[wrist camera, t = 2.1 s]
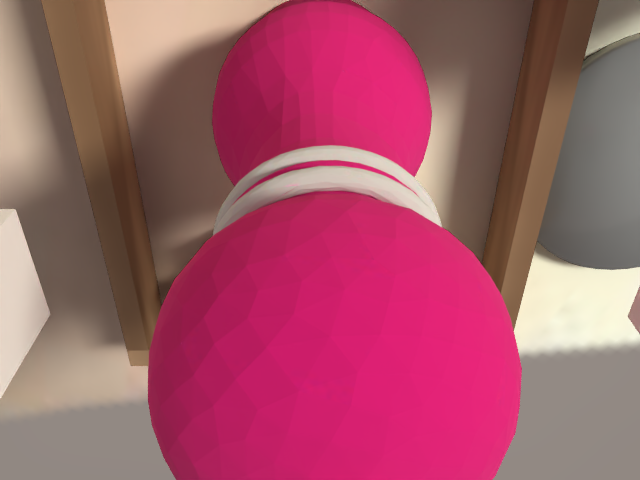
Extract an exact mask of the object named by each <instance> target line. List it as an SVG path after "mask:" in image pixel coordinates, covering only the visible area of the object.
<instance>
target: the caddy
mask: <svg viewBox="0 0 640 480" xmlns="http://www.w3.org/2000/svg"><path fill="white" fill-rule="evenodd" d="M41 2H42V6H43V10H44V14H45V18H46V22H47V26H48V30H49V35H50V39H51V43H52V47H53V51H54V55H55V59H56V63H57V67H58V71H59V75H60V79H61V83H62V87H63V92H64V96H65V100H66V104H67V108H68V112H69V116H70V120H71V124H72V128H73V132H74V136H75V140H76V145H77V149H78V153H79V157H80V161H81V165H82V169H83V173H84V177H85V181H86V185H87V189H88V193H89V198H90V202H91V206H92V210H93V214H94V218H95V222H96V226H97V230H98V234H99V238H100V242H101V246H102V251H103V255H104V259H105V263H106V267H107V271H108V275H109V279H110V283H111V287H112V291H113V295H114V299H115V304H116V308H117V312H118V316H119V320H120V324H121V328H122V332H123V336H124V340H125V344H126V348H127V352H128V356H129V361H130V365H131V366H149V350H150V346H151V342H152V338H153V334H154V330H155V326H156V323H157V319H158V316H159V313H160V309H161V306H162V304H161V299H160V294H159V289H158V283H157V278H156V273H155V267H154V262H153V257H152V251H151V246H150V241H149V235H148V230H147V225H146V220H145V214H144V209H143V204H142V198H141V193H140V188H139V182H138V177H137V172H136V166H135V161H134V156H133V151H132V145H131V140H130V135H129V129H128V124H127V119H126V113H125V108H124V103H123V97H122V92H121V87H120V82H119V76H118V71H117V66H116V60H115V55H114V50H113V44H112V39H111V34H110V28H109V23H108V18H107V13H106V7H105V2H104V0H41ZM598 2H599V0H534V5H533V10H532V15H531V20H530V25H529V30H528V35H527V40H526V45H525V50H524V55H523V60H522V65H521V70H520V75H519V80H518V85H517V90H516V95H515V100H514V105H513V110H512V115H511V120H510V125H509V130H508V135H507V140H506V145H505V150H504V155H503V160H502V165H501V170H500V175H499V180H498V185H497V190H496V195H495V200H494V205H493V210H492V215H491V220H490V225H489V230H488V235H487V240H486V245H485V250H484V255H483V260H482V266H483V267H484V268H485V270H486V271H487V272H488V274H489V275H490V276H491V278H492V280H493V282H494V283H495V285H496V287H497V289H498V290H499V292H500V294H501V295H502V298H503V300H504V303H505V305H506V308H507V310H508V313H509V315H510V318H511V322H512V327H513V331H514V328H515V324H516V320H517V316H518V312H519V308H520V304H521V301H522V297H523V293H524V289H525V285H526V281H527V277H528V273H529V269H530V266H531V262H532V258H533V254H534V250H535V246H536V242H537V238H538V235H539V231H540V227H541V223H542V219H543V215H544V211H545V207H546V204H547V200H548V196H549V192H550V188H551V184H552V180H553V176H554V173H555V169H556V165H557V161H558V157H559V153H560V149H561V145H562V142H563V138H564V134H565V130H566V126H567V122H568V118H569V114H570V111H571V107H572V103H573V99H574V95H575V91H576V87H577V83H578V80H579V76H580V72H581V68H582V64H583V60H584V56H585V52H586V48H587V45H588V41H589V37H590V33H591V29H592V25H593V21H594V17H595V14H596V10H597V6H598Z"/></svg>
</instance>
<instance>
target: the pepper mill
mask: <svg viewBox="0 0 640 480" xmlns="http://www.w3.org/2000/svg"><path fill="white" fill-rule="evenodd" d="M431 117H432V110H431V104H430V97H429V91H428V86H427V83H426V79H425V76H424V73H423V70H422V68H421V65H420V63H419V61H418V58H417V56H416V55H415V53H414V52H413V50H412V49H411V47H410V46H409V44H408V43H407V41H406V40H405V39H404V38H403V37H402V36H401V35H400V34H399V33H398V32H397V31H396V30H395V29H394V28H393V27H392V26H390V25H389V24H388V23H386V22H385V21H384V20H382V19H381V18H379V17H377V16H376V15H374V14H372V13H370V12H369V11H368V10H366V9H365V8H364V7H362V6H360V5H359V4H357V3H355V2H353V1H351V0H290V1H287V2H284V3H283V4H281V5H280V6H278V7H276V8H275V9H273V10H272V11H271V12H270V13H269V14H267V15H266V16H265V17H264V18H262V19H261V20H260V21H258V22H257V23H256V24H254V25H253V26H252V27H251V28H250V29H249V30H248V31H247V32H246V33H245V34H244V35H243V36H242V37H241V38H239V40H238V41H237V42H236V44H235V45H234V47H233V48H232V49H231V51H230V52H229V53H228V56H227V58H226V60H225V62H224V64H223V66H222V68H221V70H220V73H219V76H218V81H217V86H216V90H215V95H214V101H213V114H212V125H213V133H214V139H215V143H216V146H217V149H218V153H219V156H220V160H221V162H222V165H223V167H224V170H225V172H226V174H227V175H228V177H229V178H230V180H231V182H232V183H233V185H234V186H235V187H234V188H233V189H232V191H231V192H230V193H229V195H228V196H227V198H226V199H225V201H224V202H223V204H222V206H221V208H220V210H219V213H218V215H217V218H216V222H215V226H214V230H213V236H212V237H211V238H210V239H209V240H207V241H206V242H205V243H204V245H203V246H202V247H201V248H200V249H199V251H198V252H197V253H196V254H195V255H194V257H193V258H192V259H191V260H190V261H189V263H188V264H187V265H186V266H185V267H184V269H183V270H182V271H181V272H180V273H179V274H178V276H177V277H176V278H175V279H174V281H173V283H172V286H171V288H170V290H169V292H168V294H167V296H166V298H165V300H164V302H163V304H162V306H161V309H160V313H159V316H158V319H157V323H156V326H155V330H154V334H153V338H152V342H151V346H150V350H149V366H148V403H149V409H150V416H151V422H152V426H153V429H154V432H155V435H156V438H157V440H158V443H159V446H160V449H161V451H162V454H163V457H164V459H165V461H166V462H167V464H168V466H169V468H170V470H171V471H172V473H173V475H174V477H175V478H176V480H492V479H493V478H494V477H495V476H496V473H497V471H498V469H499V467H500V465H501V463H502V460H503V458H504V456H505V454H506V452H507V450H508V447H509V445H510V443H511V441H512V439H513V437H514V435H515V432H516V425H517V420H518V413H519V407H520V391H521V372H522V368H521V363H520V358H519V353H518V349H517V344H516V340H515V335H514V331H513V327H512V322H511V318H510V315H509V313H508V310H507V308H506V305H505V303H504V300H503V298H502V295H501V294H500V292H499V290H498V289H497V287H496V285H495V283H494V282H493V280H492V278H491V276H490V275H489V274H488V272H487V271H486V270H485V268H484V267H483V266H482V264H481V263H480V261H479V260H478V259H477V257H476V256H475V255H474V253H473V252H472V251H471V250H469V249H468V248H467V247H466V246H465V245H464V244H463V243H461V242H460V241H459V240H458V239H457V238H456V237H455V236H453V235H452V234H451V233H450V232H449V231H447V230H445V229H444V228H442V225H441V220H440V218H439V215H438V212H437V209H436V206H435V204H434V203H433V201H432V199H431V197H430V195H429V194H428V193H427V191H426V190H425V189H424V188H423V187H422V185H421V184H420V183H419V182H418V181H417V180H416V179H415V178H414V177H415V175H416V173H417V171H418V169H419V167H420V165H421V163H422V161H423V159H424V155H425V152H426V148H427V145H428V140H429V136H430V130H431Z"/></svg>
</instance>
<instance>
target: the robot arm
mask: <svg viewBox="0 0 640 480" xmlns="http://www.w3.org/2000/svg"><path fill="white" fill-rule="evenodd" d="M49 316H50V311H49V308H48V305H47V302H46V299H45V296H44V293H43V290H42V287H41V284H40V281H39V278H38V275H37V272H36V269H35V266H34V263H33V260H32V257H31V254H30V251H29V248H28V245H27V242H26V239H25V236H24V233H23V230H22V227H21V224H20V221H19V218H18V215H17V212H16V209H0V398H1V397H2V395H3V393H4V392H5V390H6V388H7V387H8V385H9V383H10V382H11V380H12V378H13V376H14V375H15V373H16V371H17V370H18V368H19V366H20V365H21V363H22V361H23V360H24V358H25V356H26V355H27V353H28V351H29V350H30V348H31V346H32V344H33V343H34V341H35V339H36V338H37V336H38V334H39V333H40V331H41V329H42V328H43V326H44V324H45V323H46V321H47V319H48V318H49ZM628 317H629V319H630V320H631V322H632V323H633V325H634V326H635V328H636V329H637V331H638V332H639V334H640V287H639V289H638V292H637V294H636V297H635V299H634V302H633V304H632V307H631V309H630V312H629V314H628Z"/></svg>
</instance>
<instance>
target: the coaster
mask: <svg viewBox="0 0 640 480" xmlns="http://www.w3.org/2000/svg"><path fill="white" fill-rule="evenodd" d="M537 241H538V242H539V243H540V244H541V245H542V246H543V247H544V248H545V249H547V250H548V251H549V252H551V253H552V254H554V255H555V256H557V257H559V258H561V259H563V260H565V261H567V262H570V263H573V264H576V265H579V266H583V267H589V268H595V269H609V270H614V269H629V268H635V267H640V33H639V34H636V35H632V36H629V37H626V38H624V39H622V40H620V41H617V42H615V43H613V44H611V45H608V46H606V47H605V48H603V49H601V50H600V51H598V52H596V53H594V54H593V55H591V56H589V57H588V58H587V59H585V60H584V61H583V64H582V68H581V72H580V76H579V80H578V83H577V87H576V91H575V95H574V99H573V103H572V107H571V111H570V114H569V118H568V122H567V126H566V130H565V134H564V138H563V142H562V145H561V149H560V153H559V157H558V161H557V165H556V169H555V173H554V176H553V180H552V184H551V188H550V192H549V196H548V200H547V204H546V207H545V211H544V215H543V219H542V223H541V227H540V231H539V235H538V238H537Z"/></svg>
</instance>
